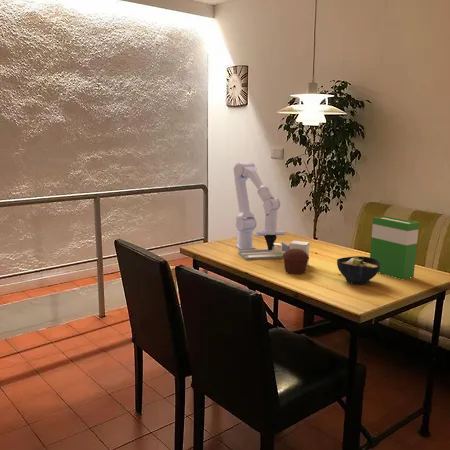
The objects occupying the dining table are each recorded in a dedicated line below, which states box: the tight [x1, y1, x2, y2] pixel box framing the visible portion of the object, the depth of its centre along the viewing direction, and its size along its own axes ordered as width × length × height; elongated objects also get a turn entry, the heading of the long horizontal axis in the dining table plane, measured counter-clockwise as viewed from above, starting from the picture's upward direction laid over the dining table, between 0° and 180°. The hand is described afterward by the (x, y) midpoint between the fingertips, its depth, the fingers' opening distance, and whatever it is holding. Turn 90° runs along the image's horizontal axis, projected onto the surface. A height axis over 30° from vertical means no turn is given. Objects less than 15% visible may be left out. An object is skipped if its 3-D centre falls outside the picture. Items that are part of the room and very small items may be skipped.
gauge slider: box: [271, 242, 282, 252], centre depth 236 cm, size 8×4×4 cm, turn 14°
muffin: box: [282, 249, 310, 276], centre depth 208 cm, size 12×11×10 cm
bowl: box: [336, 255, 380, 286], centre depth 196 cm, size 17×17×10 cm
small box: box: [289, 240, 310, 266], centre depth 219 cm, size 8×6×10 cm
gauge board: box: [238, 241, 290, 261], centre depth 234 cm, size 12×24×5 cm, turn 104°
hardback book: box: [369, 215, 420, 280], centre depth 208 cm, size 18×7×24 cm, turn 34°
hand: (269, 249), depth 237 cm, fingers closed
